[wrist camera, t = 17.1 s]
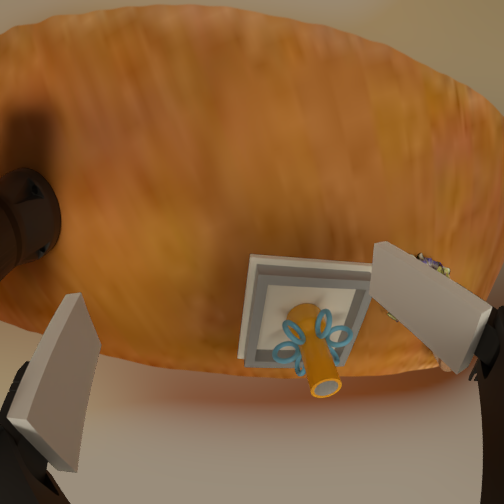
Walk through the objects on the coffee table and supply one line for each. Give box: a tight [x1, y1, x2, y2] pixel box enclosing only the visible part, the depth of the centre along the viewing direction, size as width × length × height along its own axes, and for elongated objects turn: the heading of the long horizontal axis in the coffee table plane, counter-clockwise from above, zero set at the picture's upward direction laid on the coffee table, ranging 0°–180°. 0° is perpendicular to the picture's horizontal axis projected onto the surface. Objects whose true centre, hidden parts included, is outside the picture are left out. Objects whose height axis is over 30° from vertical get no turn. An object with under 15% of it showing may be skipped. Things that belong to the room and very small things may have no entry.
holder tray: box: [237, 254, 372, 368], centre depth 45 cm, size 20×20×4 cm
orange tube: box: [272, 303, 353, 398], centre depth 40 cm, size 12×10×15 cm
